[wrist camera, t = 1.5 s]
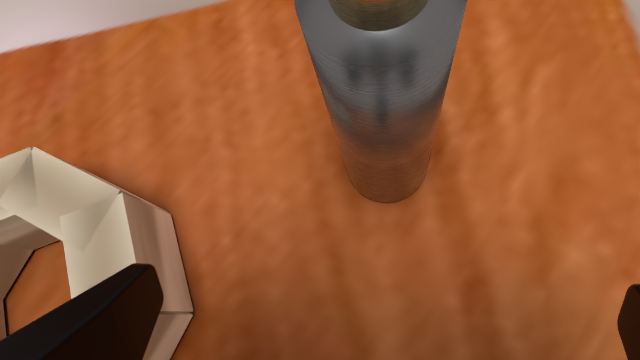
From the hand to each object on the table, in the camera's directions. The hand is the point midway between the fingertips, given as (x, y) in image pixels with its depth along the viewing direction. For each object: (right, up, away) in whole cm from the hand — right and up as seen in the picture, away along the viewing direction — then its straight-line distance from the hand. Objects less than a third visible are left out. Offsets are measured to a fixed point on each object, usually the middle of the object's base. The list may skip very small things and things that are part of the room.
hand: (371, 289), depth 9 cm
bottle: (+2, +3, +14) cm, 14 cm away
